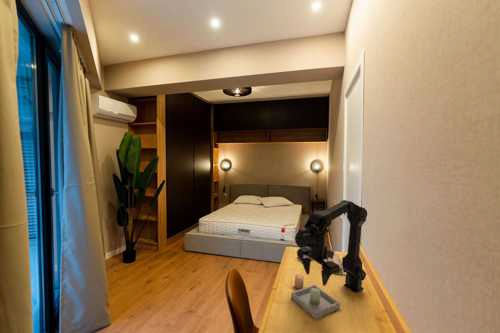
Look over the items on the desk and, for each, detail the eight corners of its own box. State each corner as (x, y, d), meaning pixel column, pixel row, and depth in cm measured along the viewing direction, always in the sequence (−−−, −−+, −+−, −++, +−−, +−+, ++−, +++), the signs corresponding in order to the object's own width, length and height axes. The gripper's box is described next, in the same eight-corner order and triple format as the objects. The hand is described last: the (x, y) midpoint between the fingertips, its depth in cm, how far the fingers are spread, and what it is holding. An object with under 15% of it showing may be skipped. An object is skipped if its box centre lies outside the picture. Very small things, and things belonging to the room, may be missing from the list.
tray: (339, 308, 87) (340, 302, 87) (315, 320, 80) (315, 313, 80) (314, 289, 99) (314, 284, 99) (291, 298, 92) (291, 292, 92)
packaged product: (346, 268, 112) (326, 264, 115) (346, 277, 112) (326, 273, 115) (341, 253, 129) (324, 251, 132) (341, 261, 130) (324, 258, 132)
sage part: (321, 303, 89) (322, 291, 89) (314, 306, 87) (315, 294, 87) (314, 297, 92) (315, 286, 92) (307, 300, 90) (308, 289, 90)
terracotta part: (304, 288, 100) (305, 277, 100) (298, 290, 98) (299, 279, 98) (299, 283, 104) (299, 273, 103) (292, 285, 102) (293, 275, 102)
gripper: (350, 248, 84) (347, 286, 85) (314, 233, 101) (313, 265, 101) (330, 253, 79) (328, 294, 79) (297, 236, 95) (295, 270, 96)
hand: (315, 279), depth 89 cm, fingers open, 9 cm apart
